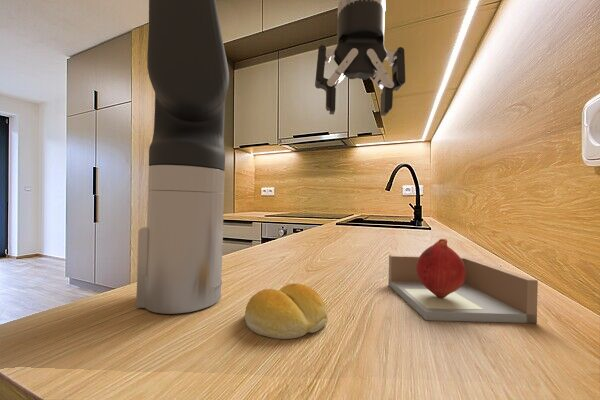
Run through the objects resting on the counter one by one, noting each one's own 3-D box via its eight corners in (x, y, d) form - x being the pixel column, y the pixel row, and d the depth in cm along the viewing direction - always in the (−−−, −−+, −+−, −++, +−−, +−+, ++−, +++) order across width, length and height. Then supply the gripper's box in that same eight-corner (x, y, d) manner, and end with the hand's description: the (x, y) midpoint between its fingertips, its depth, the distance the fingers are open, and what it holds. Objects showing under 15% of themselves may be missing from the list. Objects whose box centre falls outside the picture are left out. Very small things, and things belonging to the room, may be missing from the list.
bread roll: (235, 316, 31) (236, 282, 31) (301, 303, 35) (302, 274, 35) (262, 353, 24) (263, 308, 24) (340, 330, 28) (341, 293, 28)
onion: (421, 303, 33) (423, 239, 33) (411, 288, 39) (413, 234, 39) (472, 308, 32) (474, 242, 32) (455, 292, 38) (456, 236, 38)
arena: (426, 320, 31) (427, 277, 31) (388, 284, 44) (389, 254, 44) (536, 323, 31) (537, 280, 31) (466, 287, 44) (466, 257, 44)
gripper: (395, 31, 47) (393, 122, 47) (315, 28, 47) (313, 119, 47) (414, -2, 39) (411, 106, 39) (319, -5, 39) (316, 104, 39)
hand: (358, 113), depth 43 cm, fingers open, 8 cm apart
